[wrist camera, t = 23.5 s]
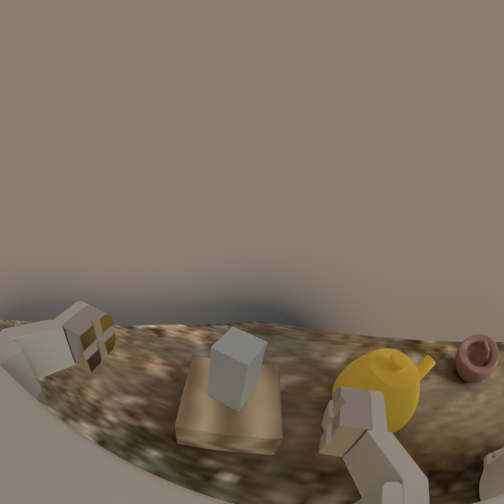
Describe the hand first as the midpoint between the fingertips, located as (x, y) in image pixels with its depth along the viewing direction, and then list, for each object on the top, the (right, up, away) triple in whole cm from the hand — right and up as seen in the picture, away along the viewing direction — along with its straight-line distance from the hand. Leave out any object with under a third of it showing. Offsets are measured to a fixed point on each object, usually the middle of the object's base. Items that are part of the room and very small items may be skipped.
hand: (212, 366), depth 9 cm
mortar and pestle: (+53, -27, +39) cm, 71 cm away
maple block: (-2, -22, +30) cm, 37 cm away
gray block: (-2, -16, +28) cm, 33 cm away
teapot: (+23, -25, +33) cm, 47 cm away
